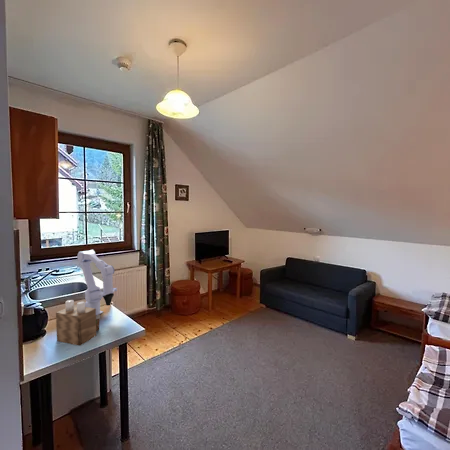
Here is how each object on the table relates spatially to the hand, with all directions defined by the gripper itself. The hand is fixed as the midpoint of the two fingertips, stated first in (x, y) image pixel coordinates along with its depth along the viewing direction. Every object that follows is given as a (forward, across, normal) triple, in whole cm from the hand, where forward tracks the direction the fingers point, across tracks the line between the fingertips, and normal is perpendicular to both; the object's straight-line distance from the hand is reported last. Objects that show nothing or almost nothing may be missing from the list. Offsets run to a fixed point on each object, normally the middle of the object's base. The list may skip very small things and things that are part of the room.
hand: (108, 304), depth 175 cm
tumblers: (-6, -26, -1) cm, 27 cm away
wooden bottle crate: (+10, -26, -1) cm, 27 cm away
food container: (+10, -17, -1) cm, 20 cm away
